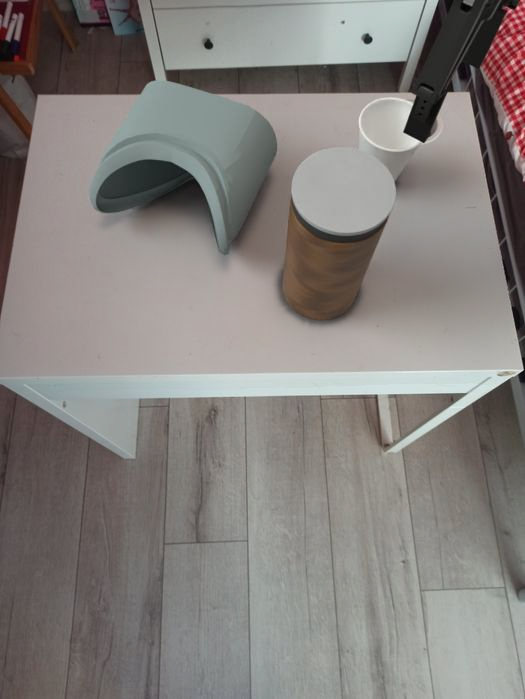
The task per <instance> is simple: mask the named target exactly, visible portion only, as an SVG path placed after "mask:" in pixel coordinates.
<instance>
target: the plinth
mask: <svg viewBox="0 0 525 699" xmlns="http://www.w3.org/2000/svg"><path fill="white" fill-rule="evenodd" d="M390 214H391V213H390ZM390 214H389V216H388V217H387V218H386V220H385V222H384V223H383V225H382V226H381V227H380V228H379V230H377V231H376V232H375V233H374V234H372V235H371V236H369V237H367V238H365V239H363V240H359V241H356V242H350V243H337V242H331V241H327V240H324V239H322V238H319V237H317V236H315V235H314V234H312V233H311V232H309V231H308V230H307V229H306V228H305V227H304V226H303V225H302V224H301V223H300V221H299V220H298V218H297V217H296V214H295V212H294V208H293V203H292V192H290V200H289V211H288V220H287V221H288V222H287V233H286V245H285V253H284V254H285V255H284V263H283V264H284V266H283V274H282V275H283V276H282V292H283V295H284V298H285V300H286V302H287V304H288V305H289V306H290V308H292V309H293V310H294V311H295V312H296V313H297V314H299V315H301V316H302V317H305V318H308V319H310V320H314V321H315V320H316V321H327V320H332V319H335V318H338V317H340V316H341V315H343V314H345V313H346V312H347V311H348V310H349V309H350V308H351V307H352V306H353V304H354V302H355V300H356V297H357V295H358V292H359V290H360V289H361V288H360V287H361V286H362V283H363V280H364V278H365V276H366V274H367V271H368V268H369V266H370V263H371V261H372V259H373V256H374V254H375V252H376V249H377V247H378V244H379V242H380V240H381V237H382V235H383V233H384V231H385V227H386V226H387V223H388V220H389V219H390V218H389V217H390Z"/></svg>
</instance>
